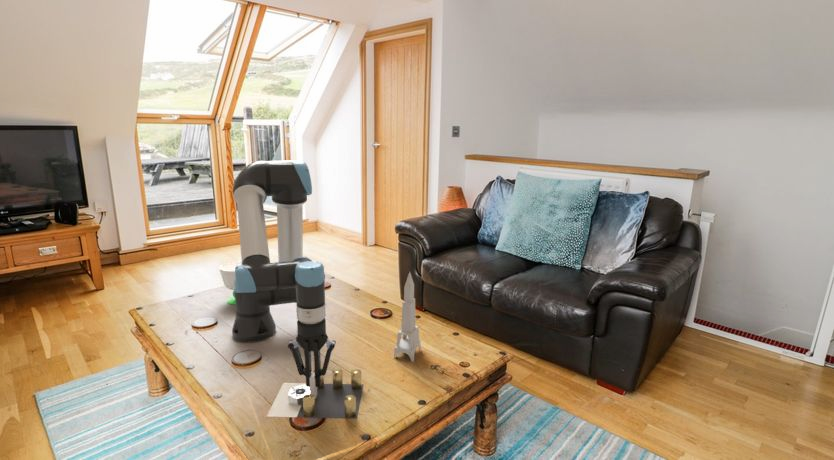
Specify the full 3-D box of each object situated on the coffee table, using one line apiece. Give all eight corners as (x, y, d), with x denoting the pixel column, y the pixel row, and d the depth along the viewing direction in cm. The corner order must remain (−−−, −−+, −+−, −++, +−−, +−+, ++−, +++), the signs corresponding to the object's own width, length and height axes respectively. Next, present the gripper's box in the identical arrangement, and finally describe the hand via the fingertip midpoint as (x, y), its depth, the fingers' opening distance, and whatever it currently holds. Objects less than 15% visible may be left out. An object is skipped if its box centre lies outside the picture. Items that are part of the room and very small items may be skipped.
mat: (266, 418, 120) (266, 416, 120) (283, 384, 136) (283, 382, 136) (357, 420, 121) (357, 418, 121) (363, 386, 136) (363, 384, 136)
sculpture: (420, 350, 159) (423, 268, 152) (413, 361, 151) (415, 276, 144) (402, 346, 161) (404, 266, 154) (393, 357, 153) (395, 273, 146)
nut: (291, 408, 124) (290, 400, 123) (285, 397, 129) (285, 389, 128) (315, 401, 127) (315, 393, 127) (309, 390, 132) (309, 382, 132)
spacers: (302, 417, 120) (301, 400, 119) (315, 383, 136) (314, 368, 135) (355, 418, 121) (355, 401, 119) (361, 384, 136) (361, 369, 135)
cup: (248, 307, 190) (246, 271, 186) (216, 306, 190) (213, 270, 186) (260, 295, 203) (258, 261, 200) (229, 294, 204) (227, 260, 200)
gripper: (283, 324, 119) (287, 403, 124) (333, 325, 119) (334, 404, 124) (290, 312, 126) (294, 388, 132) (337, 313, 126) (339, 388, 132)
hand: (313, 395), depth 128 cm, fingers closed
